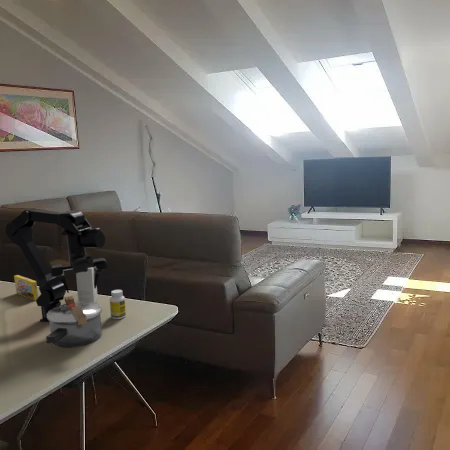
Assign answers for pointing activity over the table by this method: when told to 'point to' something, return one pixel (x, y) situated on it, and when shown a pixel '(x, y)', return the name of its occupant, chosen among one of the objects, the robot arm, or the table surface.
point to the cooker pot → (75, 333)
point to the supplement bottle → (117, 304)
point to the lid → (74, 312)
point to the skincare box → (86, 286)
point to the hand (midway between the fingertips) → (81, 290)
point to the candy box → (26, 287)
